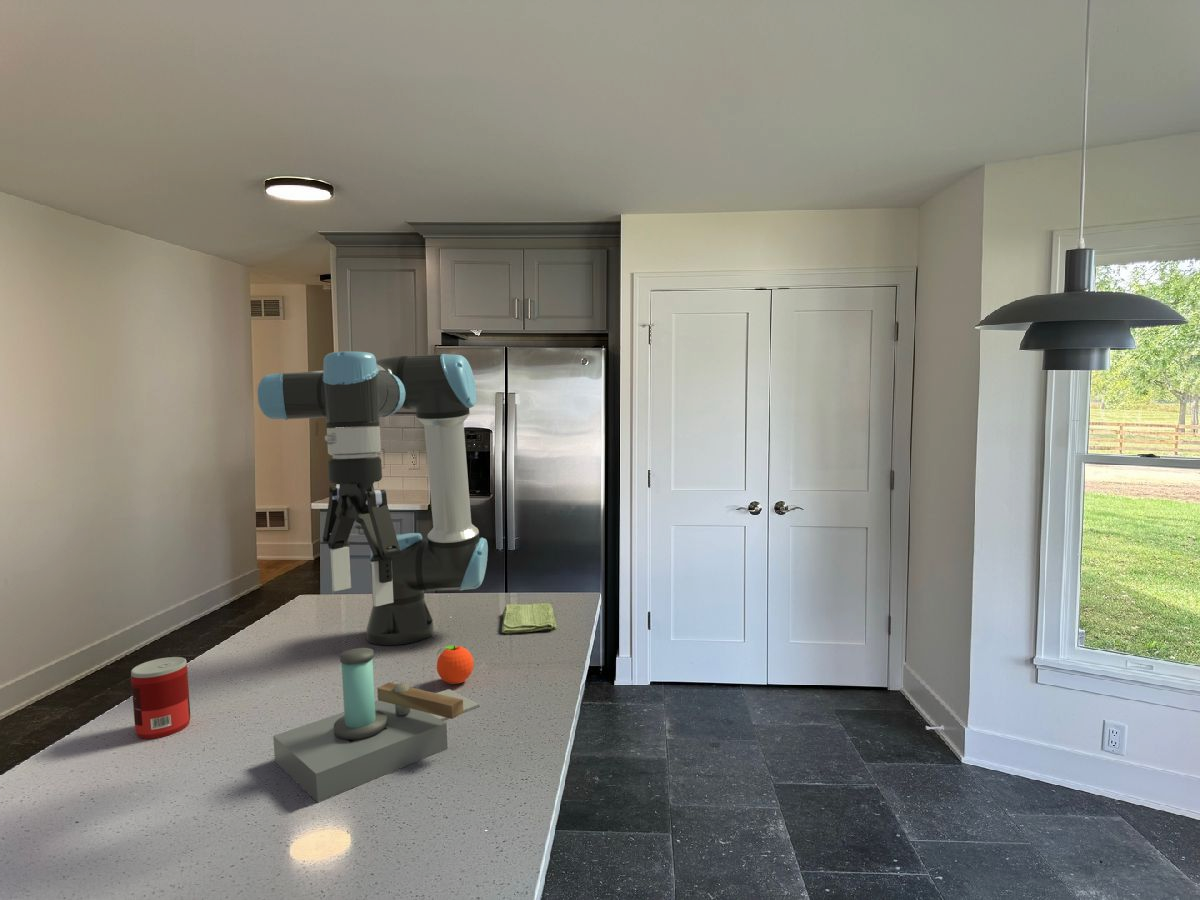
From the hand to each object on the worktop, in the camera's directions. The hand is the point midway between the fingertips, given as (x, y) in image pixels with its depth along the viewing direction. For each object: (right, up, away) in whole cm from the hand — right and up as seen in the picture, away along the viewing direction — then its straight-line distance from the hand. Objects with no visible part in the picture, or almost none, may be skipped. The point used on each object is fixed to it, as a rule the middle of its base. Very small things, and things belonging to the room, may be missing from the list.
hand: (361, 596), depth 105 cm
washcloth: (+19, -20, +64) cm, 70 cm away
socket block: (0, -24, +1) cm, 24 cm away
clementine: (+8, -23, +28) cm, 37 cm away
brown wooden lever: (+8, -20, +4) cm, 21 cm away
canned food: (-38, -25, +12) cm, 47 cm away
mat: (+8, -23, +17) cm, 30 cm away
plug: (0, -24, +1) cm, 24 cm away
